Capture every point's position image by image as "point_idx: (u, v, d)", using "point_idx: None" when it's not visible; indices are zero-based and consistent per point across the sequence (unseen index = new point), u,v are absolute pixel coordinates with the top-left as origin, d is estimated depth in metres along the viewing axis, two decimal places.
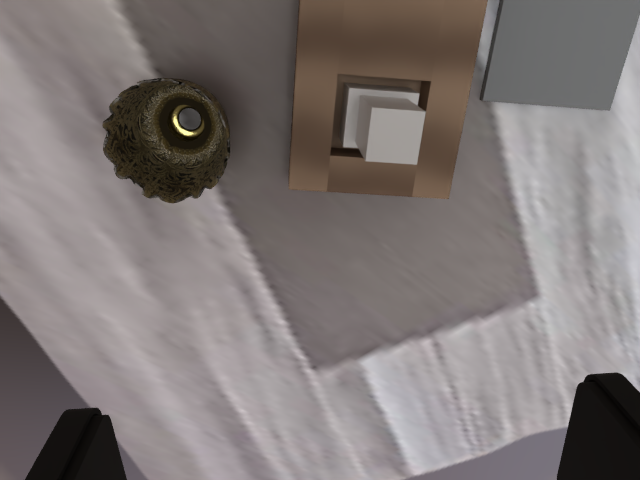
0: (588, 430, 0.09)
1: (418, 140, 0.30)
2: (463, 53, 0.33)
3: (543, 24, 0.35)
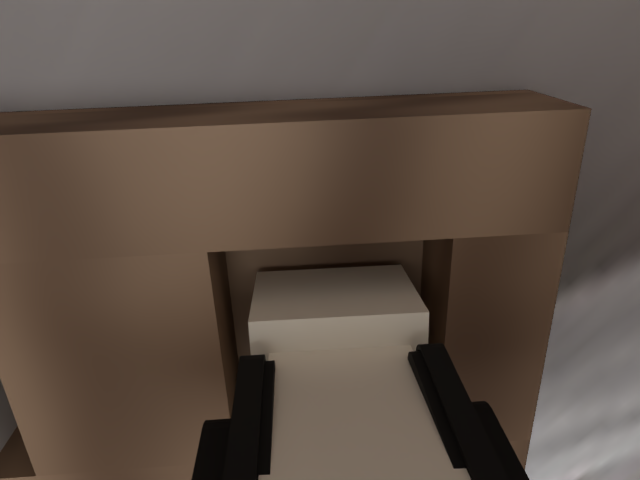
0: None
1: None
2: None
3: None
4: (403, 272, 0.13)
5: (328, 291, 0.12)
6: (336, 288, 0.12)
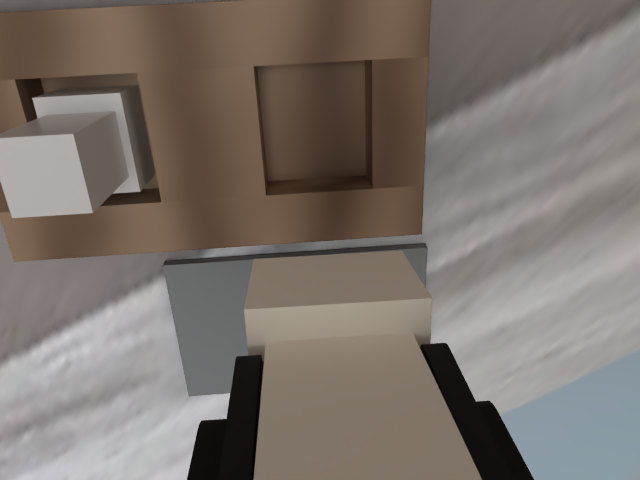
0: None
1: (48, 212, 0.20)
2: (204, 233, 0.27)
3: None
4: (404, 258, 0.13)
5: (327, 278, 0.12)
6: (335, 275, 0.12)
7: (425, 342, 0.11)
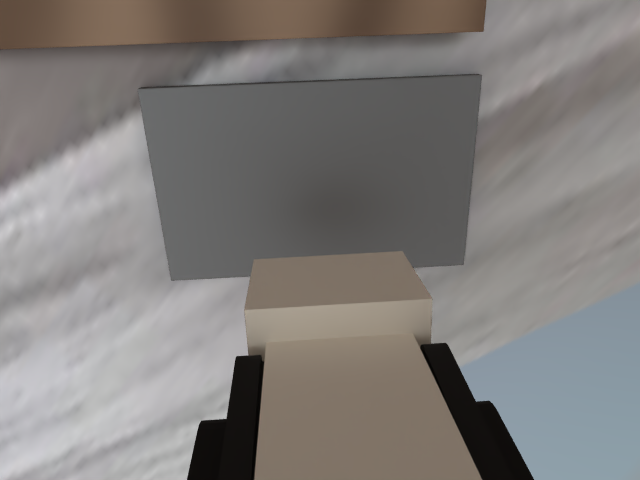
0: None
1: None
2: (190, 16, 0.20)
3: (262, 152, 0.24)
4: (405, 258, 0.13)
5: (327, 278, 0.12)
6: (336, 275, 0.12)
7: (425, 342, 0.11)
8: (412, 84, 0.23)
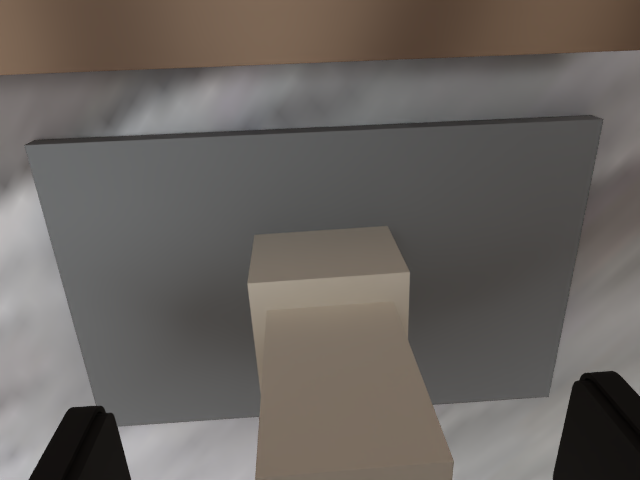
0: (584, 428, 0.09)
1: None
2: (91, 23, 0.10)
3: (240, 243, 0.15)
4: (389, 233, 0.15)
5: (320, 253, 0.14)
6: (327, 250, 0.14)
7: (404, 309, 0.13)
8: (487, 135, 0.14)
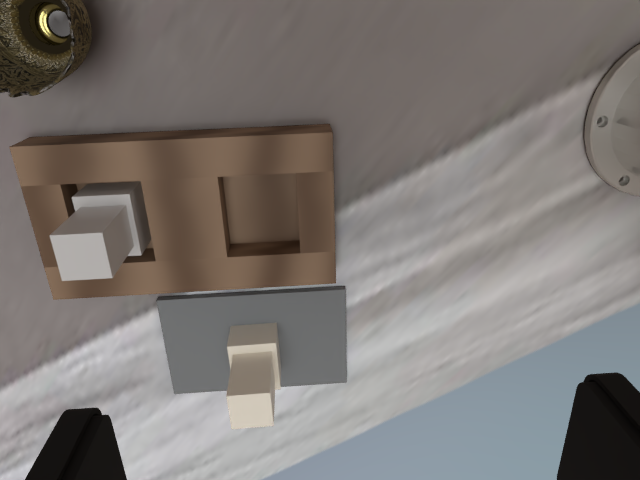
0: (588, 430, 0.09)
1: (85, 277, 0.32)
2: (184, 281, 0.39)
3: (225, 328, 0.44)
4: (275, 326, 0.43)
5: (250, 334, 0.42)
6: (253, 333, 0.42)
7: (275, 353, 0.41)
8: (307, 294, 0.43)
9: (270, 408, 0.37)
